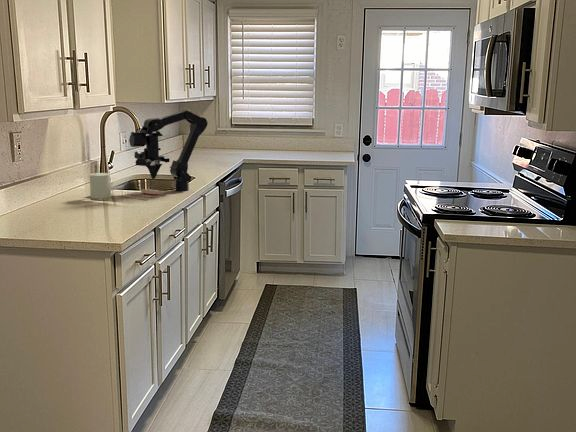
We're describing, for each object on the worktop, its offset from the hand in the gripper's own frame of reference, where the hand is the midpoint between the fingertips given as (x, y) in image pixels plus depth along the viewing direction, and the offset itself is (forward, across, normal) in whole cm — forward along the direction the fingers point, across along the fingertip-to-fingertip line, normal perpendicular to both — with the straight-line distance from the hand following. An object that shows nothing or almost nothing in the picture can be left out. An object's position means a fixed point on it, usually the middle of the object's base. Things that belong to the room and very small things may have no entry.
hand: (153, 178), depth 276 cm
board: (+8, +10, 0) cm, 13 cm away
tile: (+6, +4, 0) cm, 7 cm away
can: (+8, +20, -15) cm, 26 cm away
